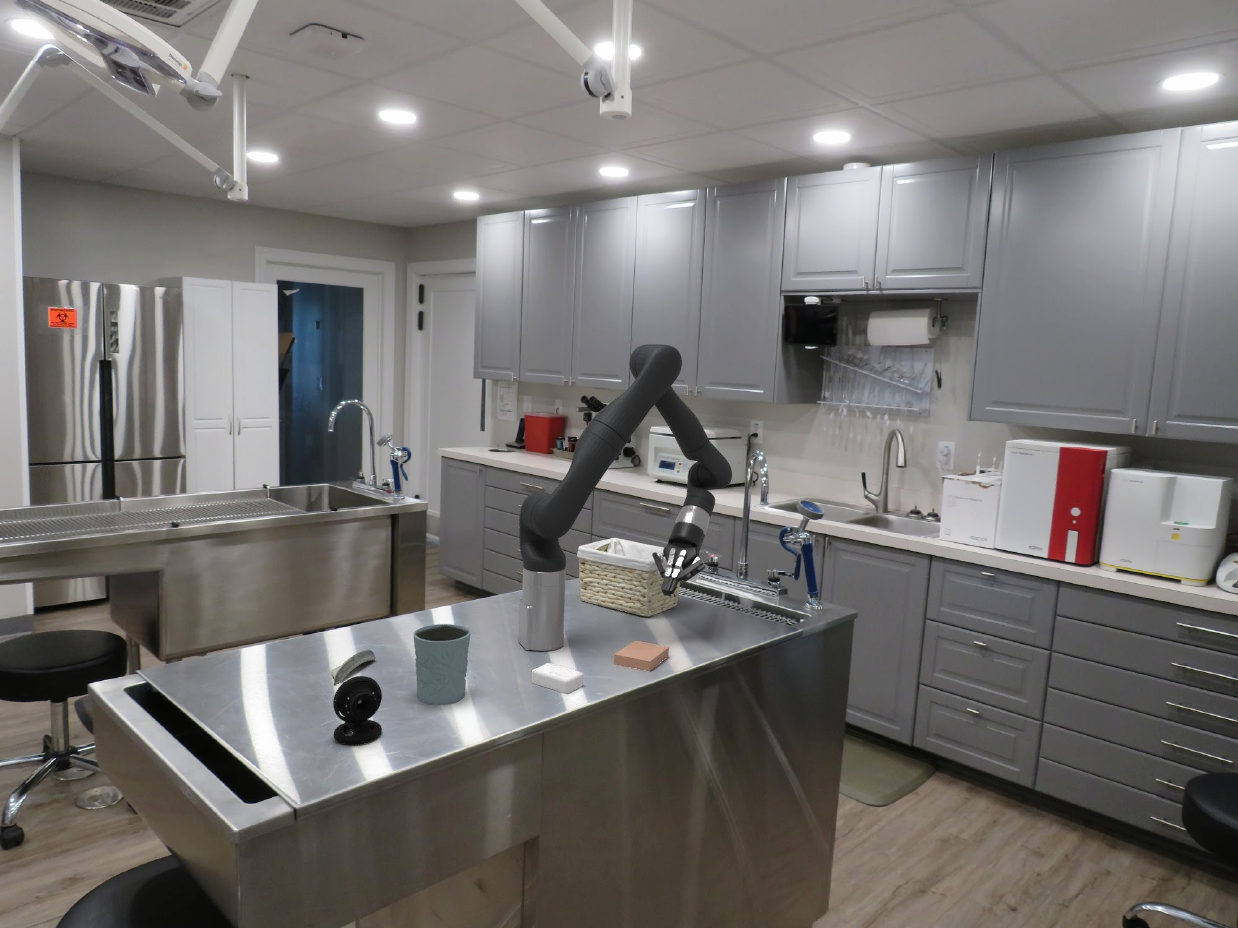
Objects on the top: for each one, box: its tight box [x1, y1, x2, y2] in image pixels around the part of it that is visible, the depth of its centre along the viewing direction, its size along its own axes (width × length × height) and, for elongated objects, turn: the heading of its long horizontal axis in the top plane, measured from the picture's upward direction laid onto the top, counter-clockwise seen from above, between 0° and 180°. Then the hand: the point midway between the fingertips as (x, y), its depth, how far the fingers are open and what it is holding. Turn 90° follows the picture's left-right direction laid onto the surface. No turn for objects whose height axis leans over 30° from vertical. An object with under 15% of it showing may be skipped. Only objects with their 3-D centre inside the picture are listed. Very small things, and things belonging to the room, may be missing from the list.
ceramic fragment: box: [331, 649, 377, 686], centre depth 162 cm, size 14×5×4 cm, turn 164°
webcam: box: [332, 675, 383, 746], centre depth 135 cm, size 8×8×10 cm
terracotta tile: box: [613, 640, 670, 672], centre depth 174 cm, size 3×8×10 cm
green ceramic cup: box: [413, 623, 471, 706], centre depth 152 cm, size 10×10×12 cm
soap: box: [531, 662, 584, 695], centre depth 159 cm, size 9×6×3 cm, turn 56°
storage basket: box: [576, 537, 681, 617], centre depth 213 cm, size 24×16×15 cm
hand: (666, 593), depth 182 cm, fingers closed
